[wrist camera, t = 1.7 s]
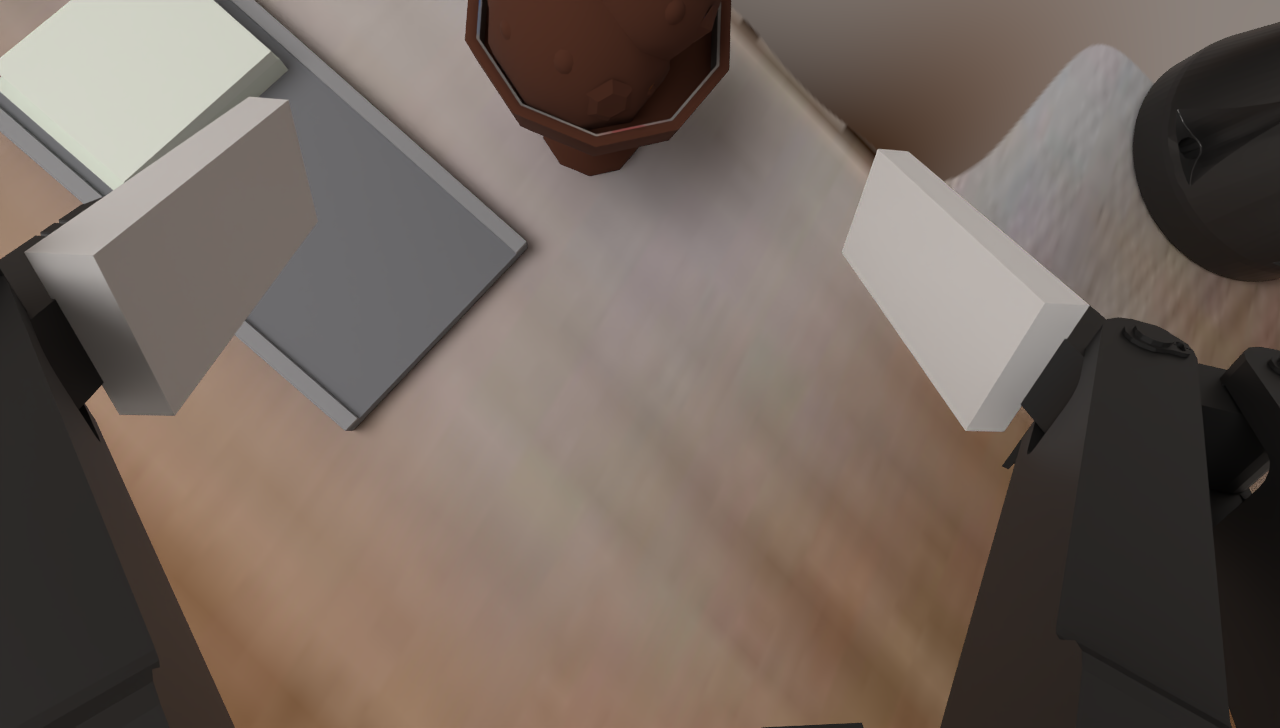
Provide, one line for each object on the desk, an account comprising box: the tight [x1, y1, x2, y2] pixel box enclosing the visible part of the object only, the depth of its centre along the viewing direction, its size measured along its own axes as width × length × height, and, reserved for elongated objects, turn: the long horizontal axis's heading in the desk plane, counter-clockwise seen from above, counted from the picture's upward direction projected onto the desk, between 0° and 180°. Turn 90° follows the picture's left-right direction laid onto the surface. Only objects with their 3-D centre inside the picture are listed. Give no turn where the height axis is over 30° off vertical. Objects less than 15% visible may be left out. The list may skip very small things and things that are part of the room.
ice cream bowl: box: [465, 0, 731, 176], centre depth 26 cm, size 11×11×15 cm
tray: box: [0, 0, 528, 431], centre depth 31 cm, size 24×13×1 cm, turn 49°
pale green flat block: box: [0, 0, 288, 190], centre depth 30 cm, size 8×10×2 cm
